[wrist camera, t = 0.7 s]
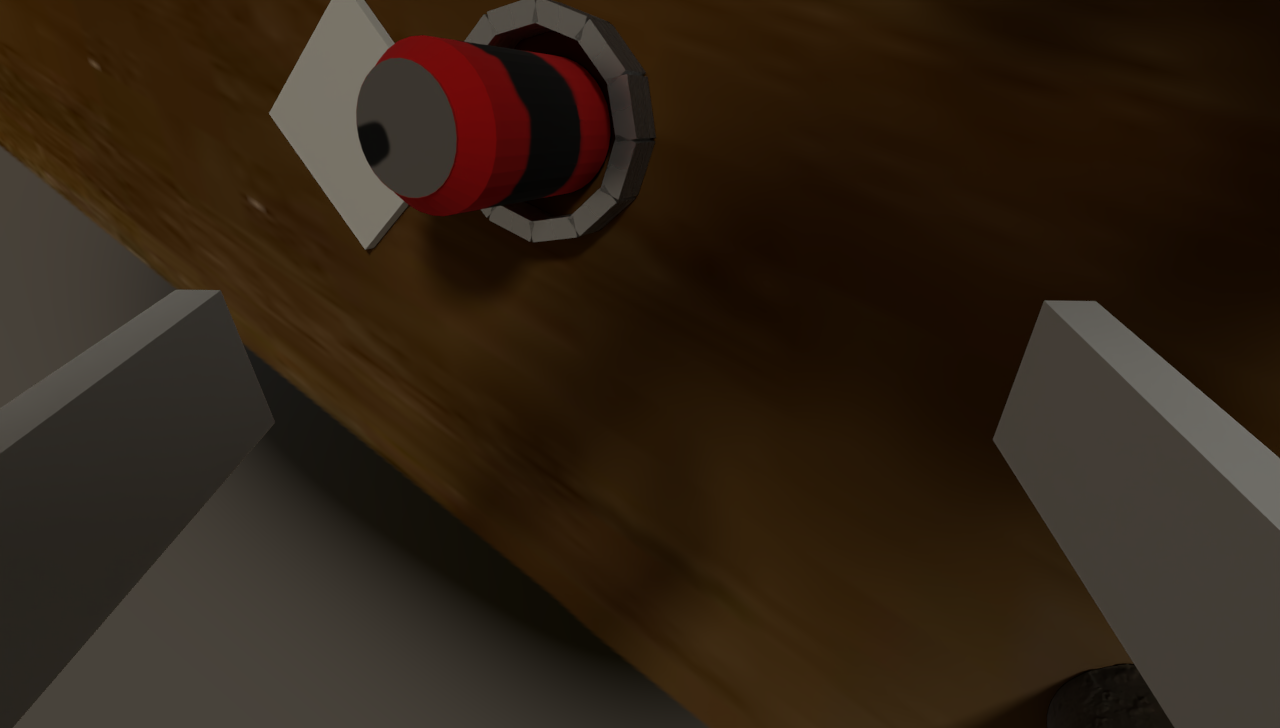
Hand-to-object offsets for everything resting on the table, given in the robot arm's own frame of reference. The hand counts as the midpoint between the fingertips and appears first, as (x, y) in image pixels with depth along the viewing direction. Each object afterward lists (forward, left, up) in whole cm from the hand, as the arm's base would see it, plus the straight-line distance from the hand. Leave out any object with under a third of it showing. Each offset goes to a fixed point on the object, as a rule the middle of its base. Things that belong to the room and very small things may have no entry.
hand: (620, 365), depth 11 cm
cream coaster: (+23, -24, -25) cm, 41 cm away
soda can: (+11, -14, -25) cm, 31 cm away
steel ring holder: (+11, -14, -25) cm, 30 cm away
